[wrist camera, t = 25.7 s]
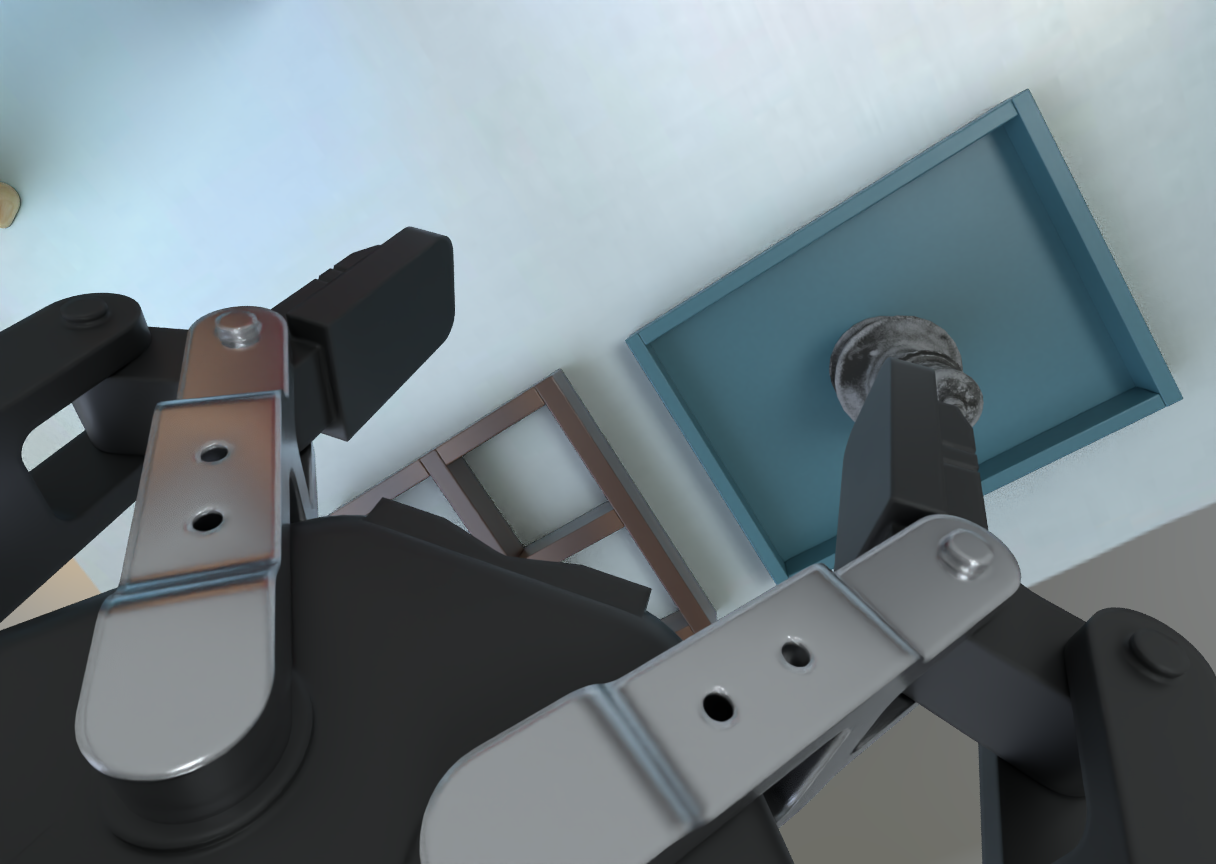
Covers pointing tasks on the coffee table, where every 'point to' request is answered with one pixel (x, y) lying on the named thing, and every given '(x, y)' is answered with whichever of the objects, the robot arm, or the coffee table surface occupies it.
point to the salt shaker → (906, 341)
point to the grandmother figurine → (8, 204)
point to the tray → (910, 286)
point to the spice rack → (572, 537)
